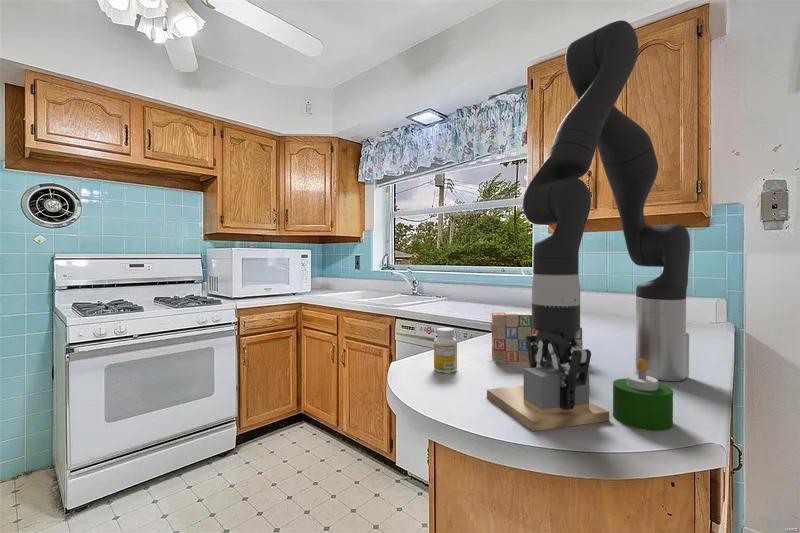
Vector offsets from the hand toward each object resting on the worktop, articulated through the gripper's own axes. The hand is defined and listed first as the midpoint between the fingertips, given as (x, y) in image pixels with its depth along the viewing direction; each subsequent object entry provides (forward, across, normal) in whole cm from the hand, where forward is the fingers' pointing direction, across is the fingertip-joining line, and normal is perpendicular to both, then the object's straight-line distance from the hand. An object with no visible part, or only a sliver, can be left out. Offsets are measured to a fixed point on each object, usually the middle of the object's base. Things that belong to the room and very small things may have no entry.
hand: (555, 402), depth 66 cm
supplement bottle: (+2, +30, +8) cm, 31 cm away
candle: (+2, -5, -12) cm, 14 cm away
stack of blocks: (+2, +32, -17) cm, 36 cm away
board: (+2, +3, 0) cm, 4 cm away
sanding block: (+1, 0, 0) cm, 1 cm away
